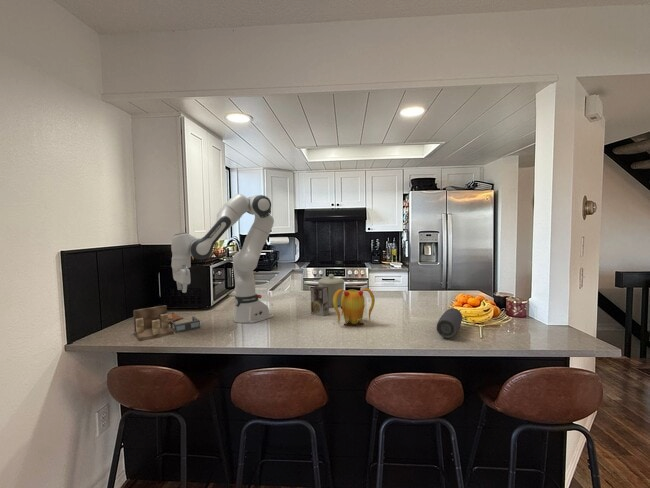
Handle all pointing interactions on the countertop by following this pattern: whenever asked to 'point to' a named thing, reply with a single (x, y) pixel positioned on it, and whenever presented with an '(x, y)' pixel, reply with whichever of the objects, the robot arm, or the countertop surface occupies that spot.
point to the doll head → (352, 306)
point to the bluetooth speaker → (449, 323)
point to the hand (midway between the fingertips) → (182, 291)
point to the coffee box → (319, 300)
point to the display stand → (151, 323)
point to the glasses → (186, 325)
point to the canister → (332, 288)
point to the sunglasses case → (173, 317)
